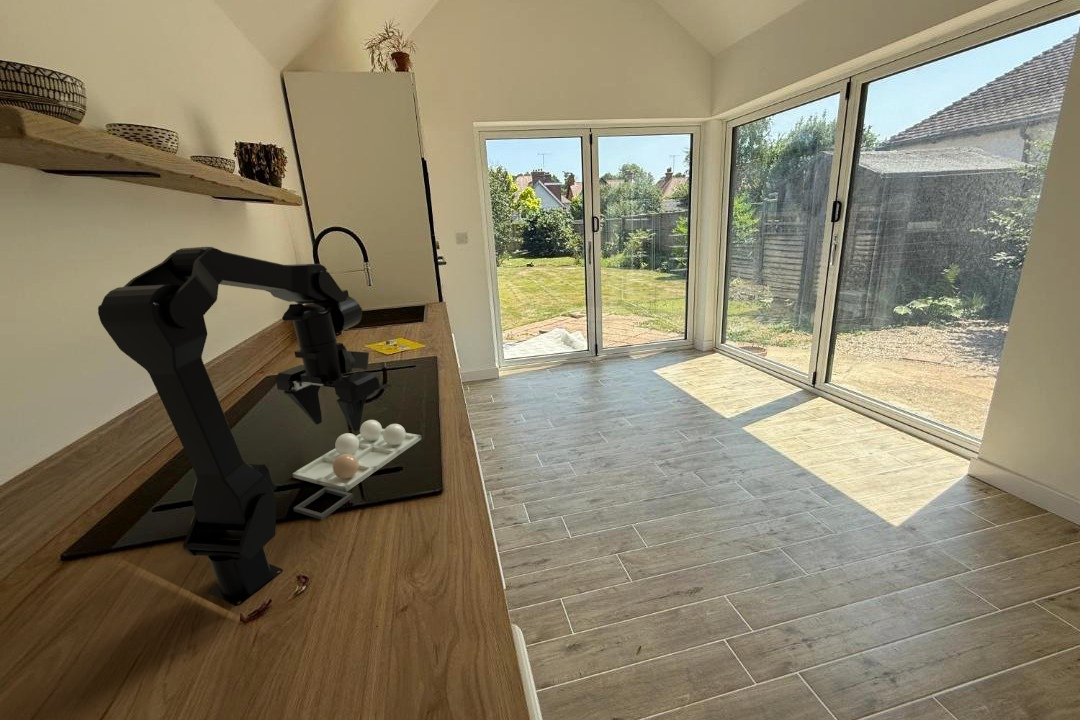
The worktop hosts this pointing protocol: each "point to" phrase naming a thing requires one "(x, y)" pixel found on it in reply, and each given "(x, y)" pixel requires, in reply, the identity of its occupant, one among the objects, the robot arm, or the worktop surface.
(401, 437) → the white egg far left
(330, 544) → the worktop surface
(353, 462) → the brown egg
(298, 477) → the egg tray
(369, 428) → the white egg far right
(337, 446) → the white egg mid
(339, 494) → the gray rectangular frame
